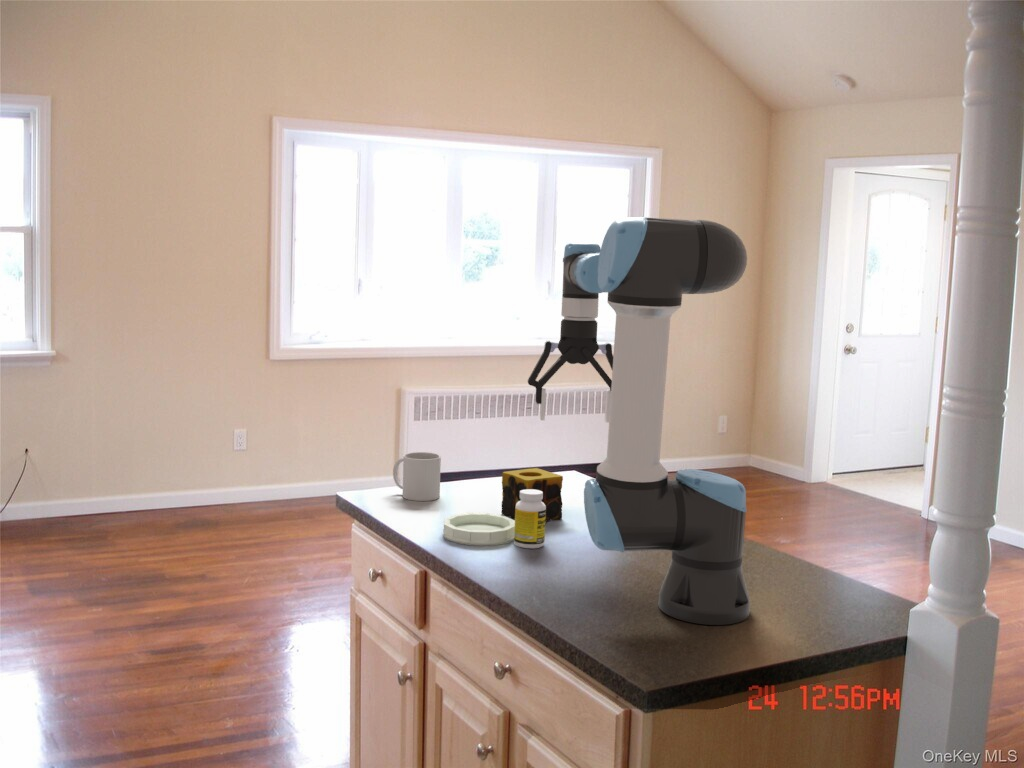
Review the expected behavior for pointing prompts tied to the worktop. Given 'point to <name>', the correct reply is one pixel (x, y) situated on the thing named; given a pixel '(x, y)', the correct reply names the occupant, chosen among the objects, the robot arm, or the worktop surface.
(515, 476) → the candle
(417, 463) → the mug
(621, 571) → the worktop surface
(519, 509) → the pill bottle
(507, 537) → the sage dish
